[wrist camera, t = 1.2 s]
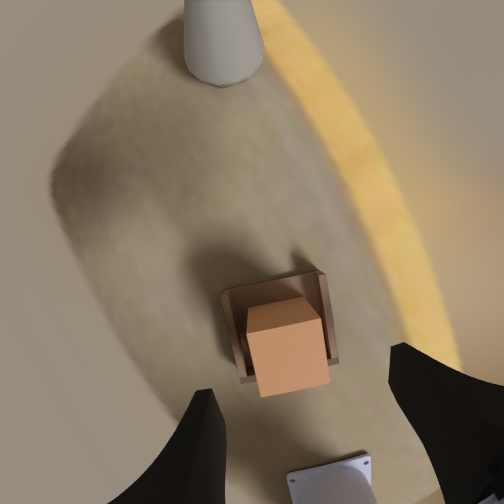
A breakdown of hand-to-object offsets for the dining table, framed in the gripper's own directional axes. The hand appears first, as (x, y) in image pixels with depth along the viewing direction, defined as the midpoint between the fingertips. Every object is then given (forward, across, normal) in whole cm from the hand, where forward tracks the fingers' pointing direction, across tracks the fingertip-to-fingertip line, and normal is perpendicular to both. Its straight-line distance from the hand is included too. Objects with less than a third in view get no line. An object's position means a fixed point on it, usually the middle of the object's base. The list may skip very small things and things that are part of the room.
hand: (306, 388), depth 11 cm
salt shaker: (+16, 0, -16) cm, 23 cm away
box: (+11, 0, +3) cm, 11 cm away
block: (+10, 0, +4) cm, 11 cm away
